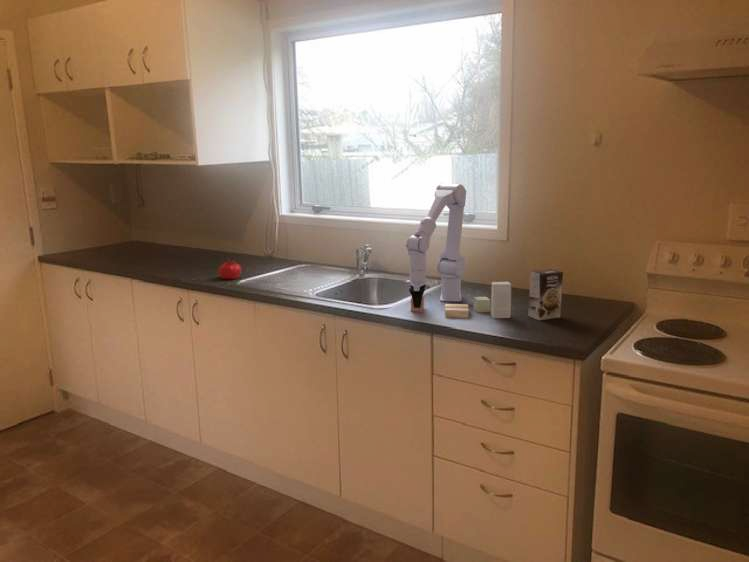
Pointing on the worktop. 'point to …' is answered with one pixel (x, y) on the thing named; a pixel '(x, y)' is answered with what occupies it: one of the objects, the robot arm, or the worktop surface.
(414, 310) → the terracotta cube
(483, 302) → the sage cube
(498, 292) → the skincare box
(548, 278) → the coffee box
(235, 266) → the pomegranate
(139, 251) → the worktop surface
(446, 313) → the maple slab
